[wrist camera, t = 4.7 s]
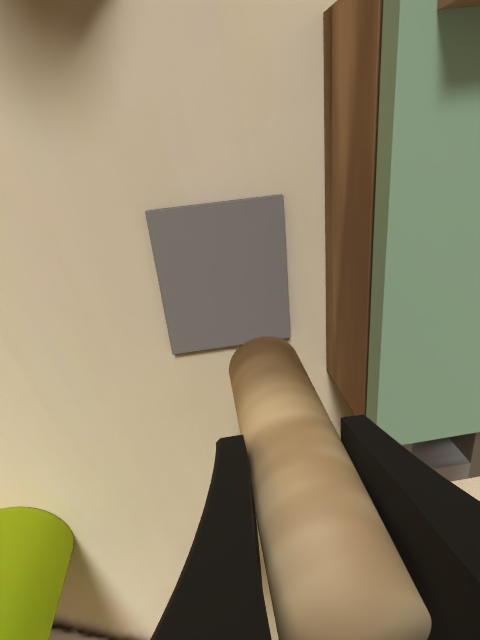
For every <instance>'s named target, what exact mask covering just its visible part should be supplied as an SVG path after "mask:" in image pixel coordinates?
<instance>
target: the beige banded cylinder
mask: <svg viewBox="0 0 480 640" xmlns="http://www.w3.org/2000/svg"><path fill="white" fill-rule="evenodd" d="M229 375H230V380H231V385H232V391H233V396H234V402H235V407H236V412H237V418H238V423H239V428H240V434H241V435H243V436H244V440H245V445H246V449H247V454H248V461H249V469H250V477H251V485H252V493H253V503H254V509H255V514H256V519H257V525H258V530H259V535H260V541H261V546H262V552H263V557H264V562H265V568H266V573H267V578H268V584H269V589H270V594H271V600H272V605H273V610H274V616H275V621H276V627H277V632H278V637H279V640H427V638H428V636H429V634H430V631H431V624H432V623H431V617H430V614H429V612H428V610H427V608H426V606H425V604H424V602H423V600H422V598H421V596H420V594H419V592H418V590H417V588H416V587H415V585H414V583H413V581H412V579H411V577H410V575H409V573H408V571H407V569H406V567H405V565H404V563H403V561H402V559H401V557H400V555H399V553H398V551H397V549H396V547H395V545H394V543H393V541H392V539H391V537H390V536H389V534H388V532H387V530H386V528H385V526H384V524H383V522H382V520H381V518H380V516H379V514H378V512H377V510H376V508H375V506H374V504H373V502H372V500H371V498H370V496H369V494H368V492H367V490H366V488H365V487H364V485H363V483H362V481H361V479H360V477H359V475H358V473H357V471H356V469H355V467H354V465H353V463H352V461H351V459H350V457H349V455H348V453H347V451H346V449H345V447H344V445H343V443H342V441H341V439H340V438H339V436H338V434H337V432H336V430H335V428H334V426H333V424H332V422H331V420H330V418H329V416H328V414H327V412H326V410H325V408H324V406H323V404H322V402H321V400H320V398H319V396H318V394H317V392H316V390H315V388H314V387H313V385H312V383H311V381H310V379H309V377H308V375H307V373H306V371H305V369H304V367H303V365H302V363H301V361H300V359H299V357H298V355H297V353H296V351H295V350H294V348H293V347H292V346H291V345H290V344H289V343H288V342H286V341H284V340H282V339H280V338H277V337H271V336H264V337H258V338H254V339H252V340H249V341H247V342H246V343H244V344H243V345H242V346H240V347H239V348H238V349H237V350H236V352H235V353H234V355H233V356H232V359H231V361H230V365H229Z"/></svg>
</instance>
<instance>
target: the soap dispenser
mask: <svg viewBox="0 0 480 640" xmlns="http://www.w3.org/2000/svg"><path fill="white" fill-rule="evenodd" d="M73 546H74V539H73V535H72V532H71V530H70V529H69V527H68V526H67V525H66V524H65V523H64V522H63V521H62V520H61V519H59V518H58V517H56V516H55V515H53V514H51V513H48V512H46V511H43V510H40V509H35V508H29V507H10V508H4V509H0V640H49V636H50V632H51V629H52V625H53V621H54V617H55V614H56V610H57V606H58V602H59V599H60V595H61V591H62V587H63V584H64V580H65V576H66V573H67V569H68V565H69V561H70V558H71V554H72V550H73Z"/></svg>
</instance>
